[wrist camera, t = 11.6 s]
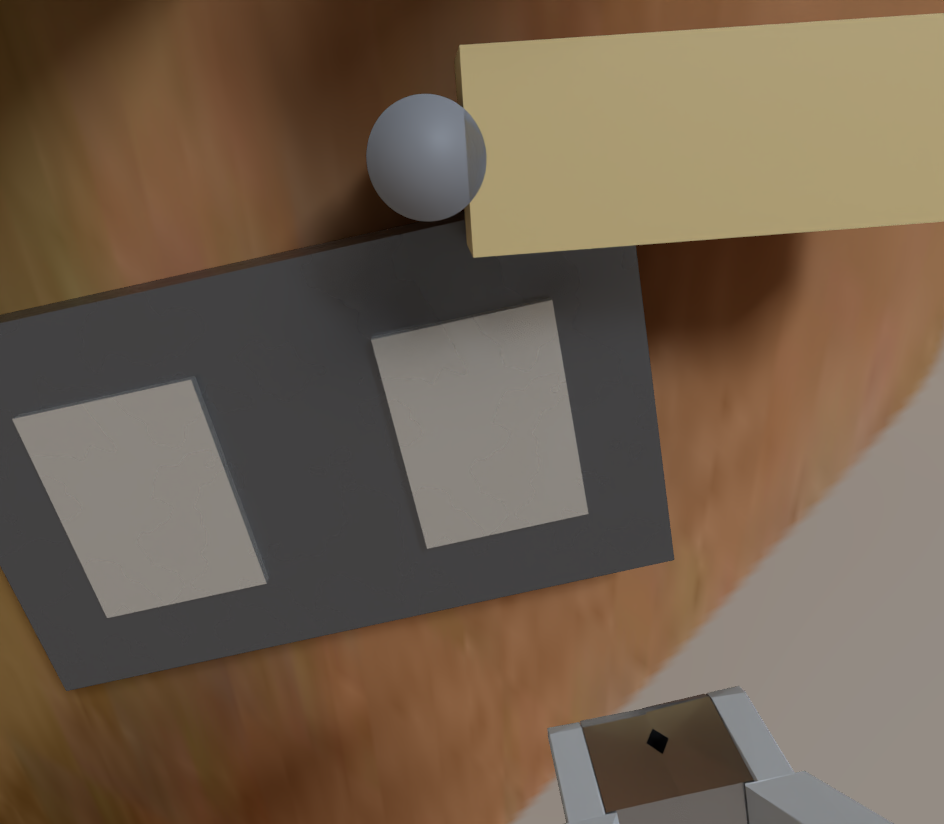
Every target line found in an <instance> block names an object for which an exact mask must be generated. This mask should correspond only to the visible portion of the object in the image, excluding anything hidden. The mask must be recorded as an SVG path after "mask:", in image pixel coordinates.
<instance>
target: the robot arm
mask: <svg viewBox="0 0 944 824" xmlns="http://www.w3.org/2000/svg"><path fill="white" fill-rule="evenodd" d="M580 723H581V725H580ZM580 723H579V722H577V723H572V724H566V725H561V726H556V727H551V728H548V739H549V743H550V748H551V753H552V757H553V762H554V767H555V772H556V776H557V781H558V786H559V790H560V795H561V800H562V804H563V809H564V814H565V819H566V823H565V824H894V823H892V822H890V821H889V820H887V819H885V818H884V817H882V816H880V815H879V814H877V813H875V812H873V811H872V810H870V809H869V808H867V807H865V806H863V805H862V804H860V803H858V802H857V801H855V800H853V799H852V798H850V797H848V796H847V795H845V794H843V793H842V792H840V791H838V790H836V789H835V788H833V787H831V786H830V785H828V784H826V783H825V782H823V781H821V780H819V779H818V778H816V777H815V776H813V775H811V774H809V773H807V772H806V771H802V772H796V773H794V771H793V769H792V768H791V766H790V764H789V763H788V761H787V759H786V758H785V756H784V754H783V753H782V752H781V750H780V748H779V746H778V745H777V743H776V741H775V740H774V738H773V736H772V735H771V733H770V732H769V730H768V728H767V727H766V725H765V723H764V722H763V720H762V718H761V717H760V715H759V713H758V712H757V710H756V708H755V707H754V705H753V704H752V702H751V700H750V699H749V697H748V695H747V694H746V692H745V690H743V689H742V688H741V687H740V686H735V687H731V688H727V689H723V690H718V691H714V692H710V693H707V694H701V695H697V696H693V697H688V698H684V699H680V700H676V701H671V702H667V703H663V704H659V705H654V706H650V707H646V708H642V709H639V710H634V711H629V712H624V713H619V714H614V715H609V716H603V717H598V718H593V719H588V720H583V721H580Z"/></svg>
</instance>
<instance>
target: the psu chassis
mask: <svg viewBox="0 0 944 824" xmlns="http://www.w3.org/2000/svg"><path fill="white" fill-rule="evenodd" d="M672 560H674V554H673V546H672V537H671V529H670V521H669V513H668V505H667V497H666V488H665V480H664V472H663V464H662V456H661V448H660V439H659V431H658V423H657V415H656V407H655V399H654V390H653V382H652V374H651V366H650V358H649V350H648V341H647V333H646V325H645V317H644V309H643V301H642V292H641V284H640V276H639V268H638V260H637V252H636V245H631V246H618V247H605V248H592V249H579V250H567V251H554V252H541V253H528V254H515V255H502V256H489V257H476V258H473V256H472V254H471V252H470V250H469V248H468V246H467V239H466V225H465V212H462V213H457V214H455V215H453V216H451V217H449V218H446V219H442V220H438V221H421V222H417V223H412V224H408V225H403V226H399V227H394V228H390V229H385V230H381V231H376V232H372V233H367V234H363V235H358V236H354V237H349V238H345V239H340V240H336V241H331V242H327V243H322V244H318V245H313V246H309V247H304V248H300V249H295V250H291V251H286V252H282V253H277V254H273V255H268V256H264V257H259V258H255V259H250V260H246V261H241V262H237V263H232V264H228V265H223V266H219V267H214V268H210V269H205V270H201V271H196V272H192V273H187V274H183V275H178V276H174V277H169V278H165V279H160V280H156V281H151V282H147V283H142V284H138V285H133V286H129V287H124V288H120V289H115V290H111V291H106V292H102V293H97V294H93V295H88V296H84V297H79V298H75V299H70V300H66V301H61V302H57V303H52V304H48V305H43V306H39V307H34V308H30V309H25V310H21V311H16V312H12V313H7V314H3V315H0V566H1V568H2V570H3V572H4V574H5V576H6V577H7V579H8V581H9V583H10V585H11V587H12V589H13V591H14V593H15V595H16V596H17V598H18V600H19V602H20V604H21V606H22V608H23V610H24V612H25V614H26V615H27V617H28V619H29V621H30V623H31V625H32V627H33V629H34V631H35V633H36V634H37V636H38V638H39V640H40V642H41V644H42V646H43V648H44V650H45V652H46V653H47V655H48V657H49V659H50V661H51V663H52V665H53V667H54V669H55V671H56V672H57V674H58V676H59V678H60V680H61V682H62V684H63V686H64V688H65V690H66V691H69V690H73V689H78V688H82V687H87V686H92V685H96V684H101V683H106V682H110V681H115V680H120V679H124V678H129V677H134V676H138V675H143V674H147V673H152V672H157V671H161V670H166V669H171V668H175V667H180V666H185V665H189V664H194V663H198V662H203V661H208V660H212V659H217V658H222V657H226V656H231V655H236V654H240V653H245V652H249V651H254V650H259V649H263V648H268V647H273V646H277V645H282V644H287V643H291V642H296V641H300V640H305V639H310V638H314V637H319V636H324V635H328V634H333V633H338V632H342V631H347V630H352V629H356V628H361V627H365V626H370V625H375V624H379V623H384V622H389V621H393V620H398V619H403V618H407V617H412V616H416V615H421V614H426V613H430V612H435V611H440V610H444V609H449V608H454V607H458V606H463V605H467V604H472V603H477V602H481V601H486V600H491V599H495V598H500V597H505V596H509V595H514V594H518V593H523V592H528V591H532V590H537V589H542V588H546V587H551V586H556V585H560V584H565V583H570V582H574V581H579V580H583V579H588V578H593V577H597V576H602V575H607V574H611V573H616V572H621V571H625V570H630V569H634V568H639V567H644V566H648V565H653V564H658V563H662V562H667V561H672Z"/></svg>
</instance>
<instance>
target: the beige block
mask: <svg viewBox="0 0 944 824" xmlns="http://www.w3.org/2000/svg"><path fill="white" fill-rule="evenodd" d="M454 64H455V78H456V93H457V103H456V102H454V101H452V100H450V99H448V98H446V97H442V96H439V95H434V94H417V95H412V96H408V97H405V98H403V99H401V100H398V101H397V102H395V103H394V104H392V105H391V106H390V107H388V108H387V109H386V110H385V111H384V112H383V113H382V114H381V116H380V117H379V118H378V120H377V121H376V123H375V124H374V127H373V129H372V131H371V133H370V136H369V140H368V145H367V154H366V158H367V168H368V173H369V176H370V179H371V182H372V184H373V186H374V188H375V190H376V192H377V193H378V195H379V196H380V197H381V199H382V200H383V201H384V202H385V203H386V204H387V205H388V206H389V207H390V208H391V209H393V210H394V211H395V212H397V213H399V214H401V215H402V216H405V217H407V218H410V219H413V220H417V221H438V220H442V219H446V218H449V217H451V216H453V215H455V214H457V213H458V212H460V211H461V210H463V209H464V210H465V225H466V239H467V246H468V248H469V250H470V252H471V254H472V256H473V258H476V257H489V256H502V255H515V254H528V253H541V252H554V251H567V250H579V249H592V248H605V247H618V246H631V245H644V244H657V243H670V242H683V241H696V240H709V239H722V238H735V237H748V236H761V235H774V234H787V233H800V232H813V231H826V230H838V229H851V228H864V227H877V226H890V225H903V224H916V223H929V222H942V221H944V13H938V14H923V15H908V16H893V17H878V18H863V19H847V20H832V21H817V22H802V23H787V24H771V25H756V26H741V27H726V28H711V29H695V30H680V31H665V32H650V33H635V34H620V35H604V36H589V37H574V38H559V39H544V40H528V41H513V42H498V43H483V44H468V45H459V48H458V51H457V54H456V57H455V61H454Z"/></svg>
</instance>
